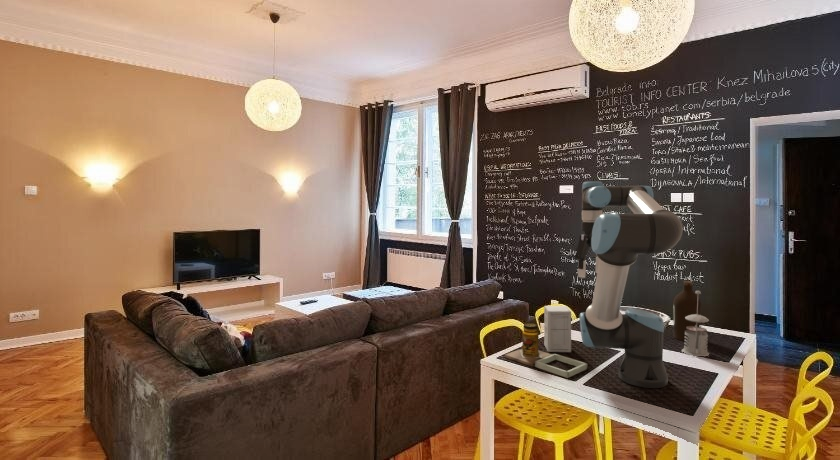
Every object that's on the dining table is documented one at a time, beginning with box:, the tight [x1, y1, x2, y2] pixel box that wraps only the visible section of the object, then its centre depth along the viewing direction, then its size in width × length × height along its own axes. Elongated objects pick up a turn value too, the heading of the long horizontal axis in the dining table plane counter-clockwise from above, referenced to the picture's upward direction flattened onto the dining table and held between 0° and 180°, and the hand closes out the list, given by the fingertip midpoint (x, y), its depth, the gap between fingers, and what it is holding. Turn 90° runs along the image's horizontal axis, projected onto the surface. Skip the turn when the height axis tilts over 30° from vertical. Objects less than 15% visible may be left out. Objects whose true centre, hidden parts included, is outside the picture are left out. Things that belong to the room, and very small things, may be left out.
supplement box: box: [543, 305, 572, 353], centre depth 188 cm, size 10×9×17 cm
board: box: [504, 348, 553, 367], centre depth 178 cm, size 13×14×1 cm
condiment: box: [518, 323, 542, 358], centre depth 178 cm, size 7×8×12 cm
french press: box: [681, 290, 710, 357], centre depth 180 cm, size 10×12×25 cm
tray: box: [534, 353, 588, 379], centre depth 168 cm, size 14×13×2 cm
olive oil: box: [672, 280, 703, 342], centre depth 199 cm, size 11×11×25 cm
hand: (590, 275), depth 181 cm, fingers open, 13 cm apart
